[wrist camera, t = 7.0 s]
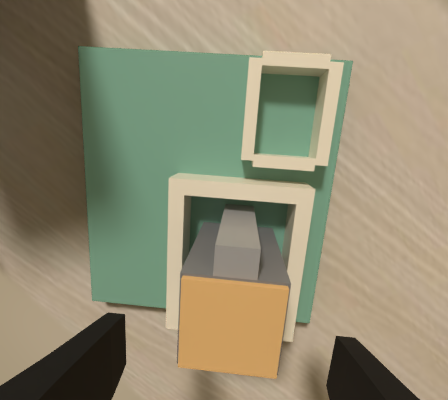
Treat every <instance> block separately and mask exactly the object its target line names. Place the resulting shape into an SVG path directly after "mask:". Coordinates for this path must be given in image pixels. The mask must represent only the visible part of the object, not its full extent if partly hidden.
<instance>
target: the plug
mask: <svg viewBox="0 0 448 400" xmlns="http://www.w3.org/2000/svg"><path fill="white" fill-rule="evenodd" d="M290 289H291V282H290V279H289V276H288V273H287V270H286V267H285V264H284V261H283V258H282V255H281V252H280V249H279V246H278V243H277V240H276V237H275V234H274V231H273V228H268V227H257V223H256V217H255V211H254V206H247V205H235V204H225V208H224V212H223V216H222V220H221V223H212V222H203V224H202V227H201V229H200V231H199V233H198V235H197V237H196V240H195V242H194V244H193V246H192V248H191V250H190V252H189V255H188V257H187V259H186V261H185V263H184V265H183V268H182V270H181V272H180V290H179V318H178V346H177V364H178V367H181V368H189V369H198V370H206V371H215V372H223V373H232V374H240V375H249V376H257V377H266V378H274V379H276V378H277V375H278V371H279V364H280V357H281V350H282V343H283V337H284V330H285V323H286V316H287V309H288V302H289V296H290Z"/></svg>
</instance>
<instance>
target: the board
mask: <svg viewBox="0 0 448 400" xmlns="http://www.w3.org/2000/svg"><path fill="white" fill-rule="evenodd" d="M78 54H79V72H80V90H81V108H82V126H83V144H84V162H85V180H86V198H87V216H88V234H89V252H90V270H91V288H92V301H100V302H110V303H120V304H129V305H139V306H148V307H158V308H166V329H176V330H178V318H179V290H180V272H181V270H182V268H183V265H184V263H185V261H186V259H187V257H188V255H189V252H190V250H191V248H192V246H193V244H194V242H195V240H196V237H197V235H198V233H199V231H200V229H201V227H202V224H203V222H212V223H221V220H222V216H223V212H224V208H225V204H235V205H247V206H254V211H255V217H256V223H257V227H268V228H273V231H274V234H275V237H276V240H277V243H278V246H279V249H280V252H281V255H282V258H283V261H284V264H285V267H286V270H287V273H288V276H289V279H290V282H291V289H290V296H289V302H288V309H287V316H286V323H285V330H284V337H283V341H287V342H292V341H293V335H294V328H295V322H303V323H310V317H311V311H312V305H313V299H314V293H315V287H316V281H317V275H318V269H319V263H320V257H321V251H322V245H323V239H324V233H325V226H326V220H327V214H328V208H329V202H330V196H331V190H332V184H333V178H334V172H335V166H336V160H337V154H338V148H339V142H340V136H341V130H342V124H343V118H344V112H345V106H346V100H347V94H348V88H349V82H350V76H351V70H352V64H353V61H346V60H331V54H319V53H300V52H280V51H263V54H262V56H253V55H234V54H215V53H197V52H178V51H159V50H141V49H122V48H103V47H85V46H78Z"/></svg>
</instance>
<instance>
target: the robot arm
mask: <svg viewBox="0 0 448 400" xmlns="http://www.w3.org/2000/svg"><path fill="white" fill-rule="evenodd" d="M125 365H126V336H125V314H117V313H107V314H105V315H104V316H102V317H101V318H99V319H98V320H96V321H95V322H94V323H92V324H91V325H89V326H88V327H87V328H85V329H84V330H83V331H81V332H80V333H78V334H77V335H76V336H74V337H73V338H71V339H70V340H69V341H67V342H66V343H64V344H63V345H61V346H60V347H59V348H57V349H56V350H54V351H53V352H51V353H50V354H49V355H47V356H46V357H44V358H43V359H41V360H40V361H38V362H36V363H35V364H33V365H32V366H30V367H29V368H27V369H26V370H24V371H23V372H21V373H20V374H18V375H16V376H15V377H13V378H12V379H10V380H9V381H7V382H6V383H4V384H3V385H1V386H0V400H111V399H112V397H113V395H114V393H115V390H116V388H117V386H118V383H119V381H120V378H121V375H122V373H123V370H124V368H125ZM326 386H327V390H328V395H329V399H330V400H420V399H418V398H417V397H416V396H415V395H414V394H413V393H412V392H411V391H410V390H409V389H408V388H407V387H406V386H405V385H404V384H402V383H401V382H400V381H399V380H398V379H397V378H396V377H395V376H394V375H393V374H392V373H391V372H390V371H389V370H388V369H387V368H386V367H385V366H384V365H383V364H382V363H381V362H380V361H379V360H378V359H377V358H376V357H375V356H374V355H373V354H371V353H370V352H369V351H368V350H367V349H366V348H365V347H364V346H363V345H362V344H361V343H360V342H359V341H358V340H357V339H356V338H352V337H342V336H336V339H335V344H334V349H333V354H332V360H331V365H330V370H329V375H328V380H327V385H326Z"/></svg>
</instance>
